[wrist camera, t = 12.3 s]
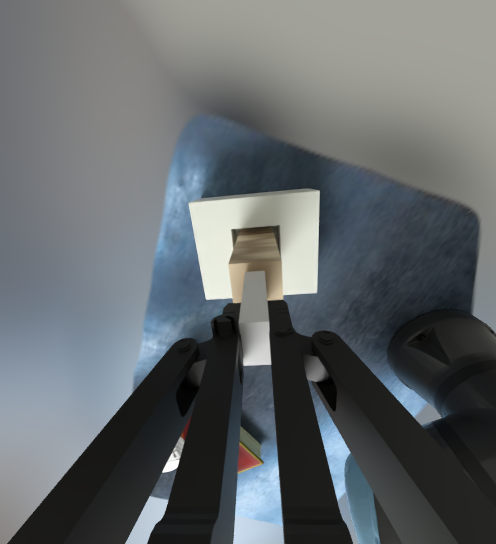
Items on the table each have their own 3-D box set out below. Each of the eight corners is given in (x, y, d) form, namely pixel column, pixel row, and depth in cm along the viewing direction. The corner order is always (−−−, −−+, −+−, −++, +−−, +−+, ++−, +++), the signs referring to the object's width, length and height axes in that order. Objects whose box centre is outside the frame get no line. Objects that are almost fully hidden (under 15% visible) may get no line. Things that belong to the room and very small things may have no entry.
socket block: (307, 188, 29) (319, 190, 24) (307, 274, 34) (317, 292, 28) (201, 198, 30) (188, 202, 25) (214, 280, 35) (206, 299, 29)
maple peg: (271, 224, 30) (282, 259, 17) (273, 254, 31) (283, 307, 18) (240, 227, 30) (227, 263, 17) (243, 256, 32) (233, 310, 19)
